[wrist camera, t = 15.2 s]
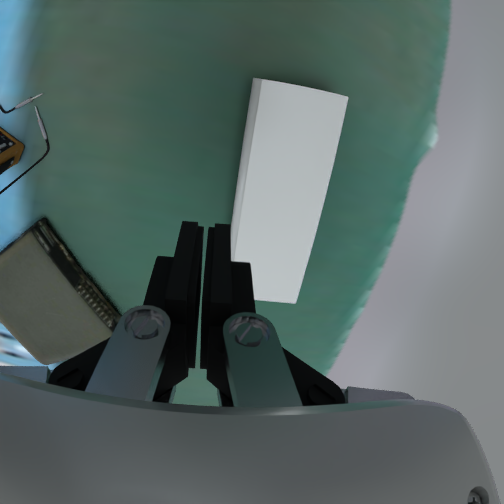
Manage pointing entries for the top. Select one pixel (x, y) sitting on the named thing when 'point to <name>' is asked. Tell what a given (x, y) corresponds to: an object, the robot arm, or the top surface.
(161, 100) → the top surface
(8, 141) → the multimeter
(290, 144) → the panel
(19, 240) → the network switch
